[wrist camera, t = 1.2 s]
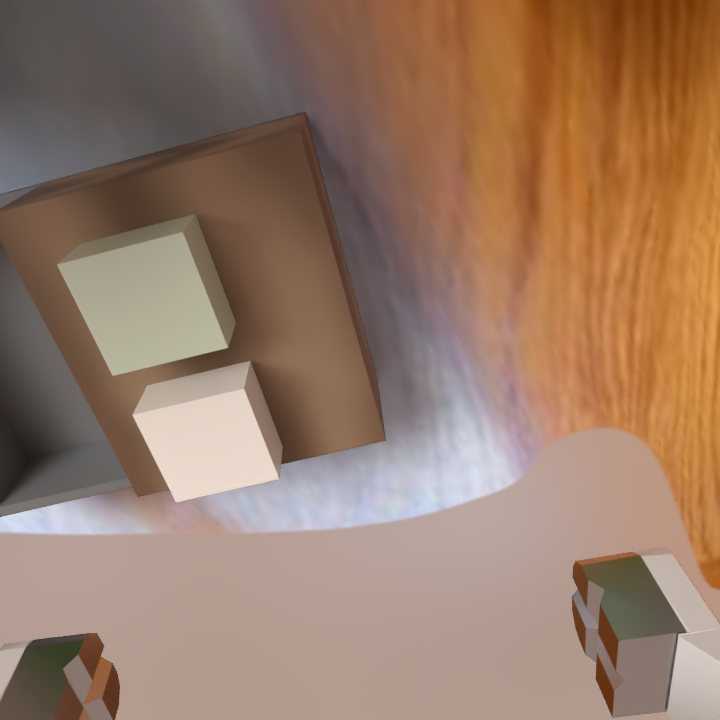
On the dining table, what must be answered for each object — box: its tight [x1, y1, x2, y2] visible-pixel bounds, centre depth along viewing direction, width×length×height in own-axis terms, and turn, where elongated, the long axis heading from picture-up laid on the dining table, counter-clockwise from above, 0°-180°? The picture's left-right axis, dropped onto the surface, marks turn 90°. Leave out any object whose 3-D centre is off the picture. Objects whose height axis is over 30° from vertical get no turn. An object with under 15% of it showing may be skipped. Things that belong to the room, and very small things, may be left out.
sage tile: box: [57, 214, 236, 376], centre depth 26 cm, size 5×5×2 cm
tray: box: [0, 183, 133, 517], centre depth 32 cm, size 9×15×5 cm, turn 14°
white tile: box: [133, 361, 283, 502], centre depth 29 cm, size 5×5×2 cm
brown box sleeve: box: [0, 112, 386, 497], centre depth 31 cm, size 13×15×6 cm
